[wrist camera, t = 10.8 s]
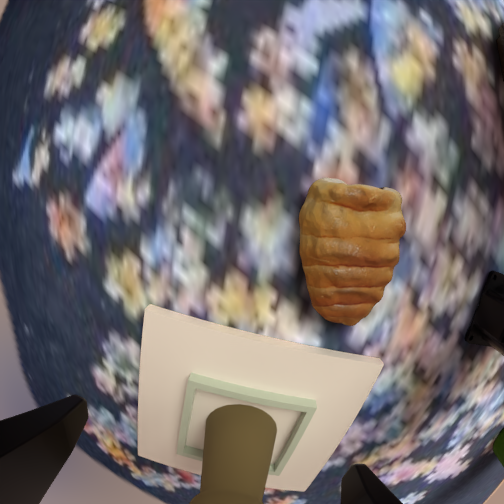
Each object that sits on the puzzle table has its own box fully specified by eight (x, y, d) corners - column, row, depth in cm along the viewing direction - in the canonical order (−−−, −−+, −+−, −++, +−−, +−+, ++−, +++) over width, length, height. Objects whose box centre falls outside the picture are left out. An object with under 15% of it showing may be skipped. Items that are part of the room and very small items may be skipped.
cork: (235, 457, 22) (219, 555, 11) (190, 420, 22) (154, 524, 11) (291, 434, 21) (295, 544, 10) (247, 393, 21) (230, 515, 10)
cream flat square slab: (380, 358, 20) (388, 371, 18) (304, 484, 24) (305, 498, 22) (150, 304, 21) (139, 314, 19) (141, 449, 24) (134, 461, 22)
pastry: (379, 316, 20) (397, 339, 16) (289, 313, 20) (292, 339, 17) (395, 186, 18) (420, 185, 14) (299, 176, 19) (305, 171, 15)
